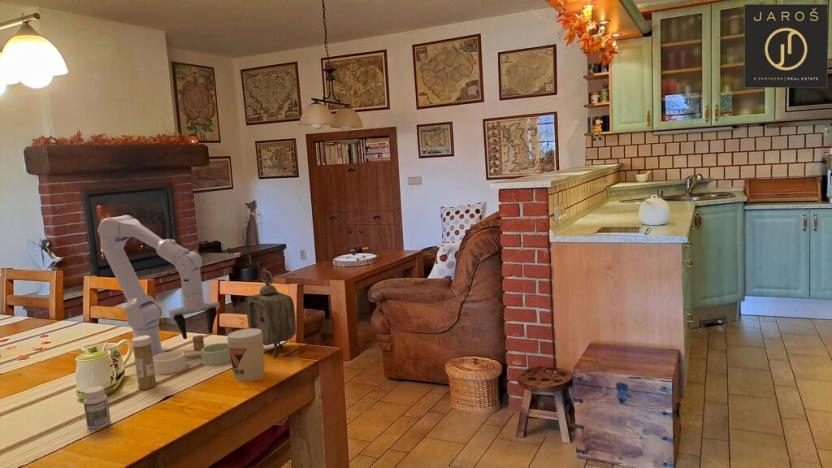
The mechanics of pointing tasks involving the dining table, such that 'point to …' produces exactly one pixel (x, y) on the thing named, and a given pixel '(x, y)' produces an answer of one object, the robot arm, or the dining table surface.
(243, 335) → the coffee cup
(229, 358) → the sage bowl
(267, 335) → the tabletop clock
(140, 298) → the robot arm
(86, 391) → the pill bottle
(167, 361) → the cream bowl
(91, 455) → the dining table surface
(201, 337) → the lid
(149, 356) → the sprinkles bottle
